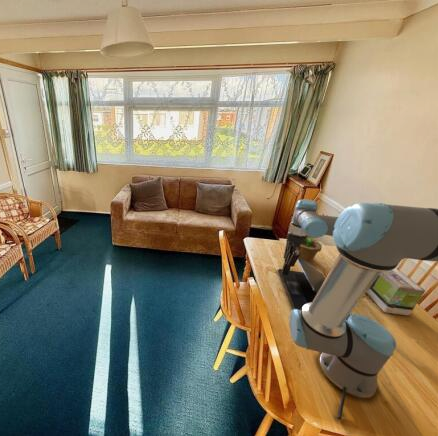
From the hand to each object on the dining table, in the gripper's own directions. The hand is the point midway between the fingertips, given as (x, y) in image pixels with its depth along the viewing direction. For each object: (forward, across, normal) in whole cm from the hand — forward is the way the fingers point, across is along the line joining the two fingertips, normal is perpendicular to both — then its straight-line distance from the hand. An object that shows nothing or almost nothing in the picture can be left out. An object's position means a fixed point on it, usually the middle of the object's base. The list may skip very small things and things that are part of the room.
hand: (284, 274), depth 113 cm
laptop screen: (+1, 0, -15) cm, 15 cm away
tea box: (+10, +2, -46) cm, 47 cm away
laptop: (+9, 0, -13) cm, 16 cm away
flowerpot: (+10, +34, -21) cm, 41 cm away
